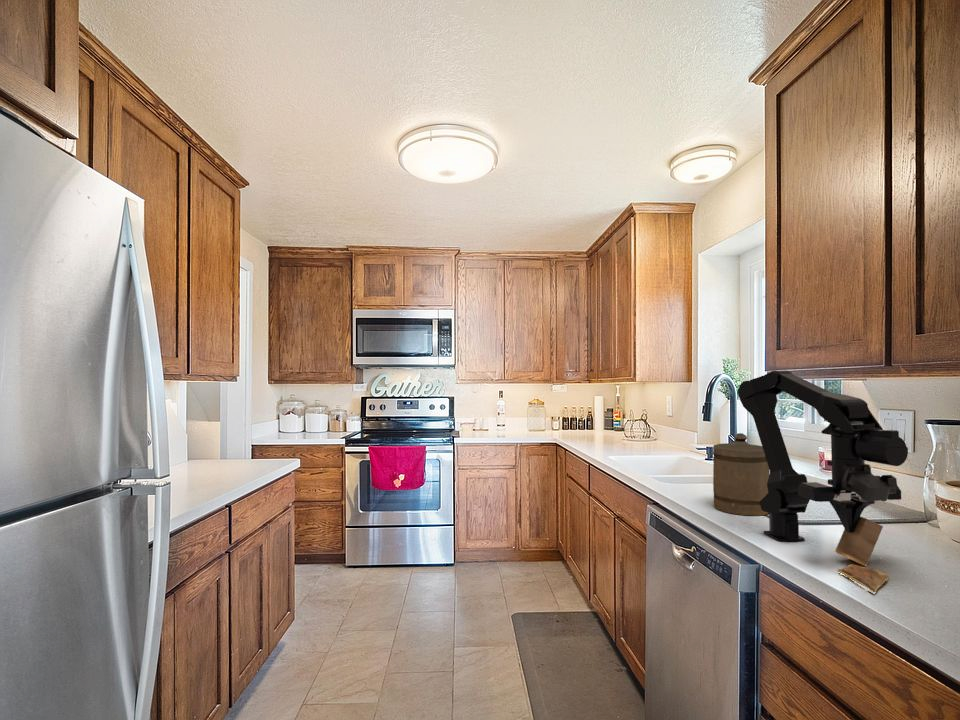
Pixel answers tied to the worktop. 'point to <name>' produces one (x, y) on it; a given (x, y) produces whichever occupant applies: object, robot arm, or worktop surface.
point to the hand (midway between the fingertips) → (849, 531)
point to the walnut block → (859, 541)
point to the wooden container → (739, 477)
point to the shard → (865, 576)
